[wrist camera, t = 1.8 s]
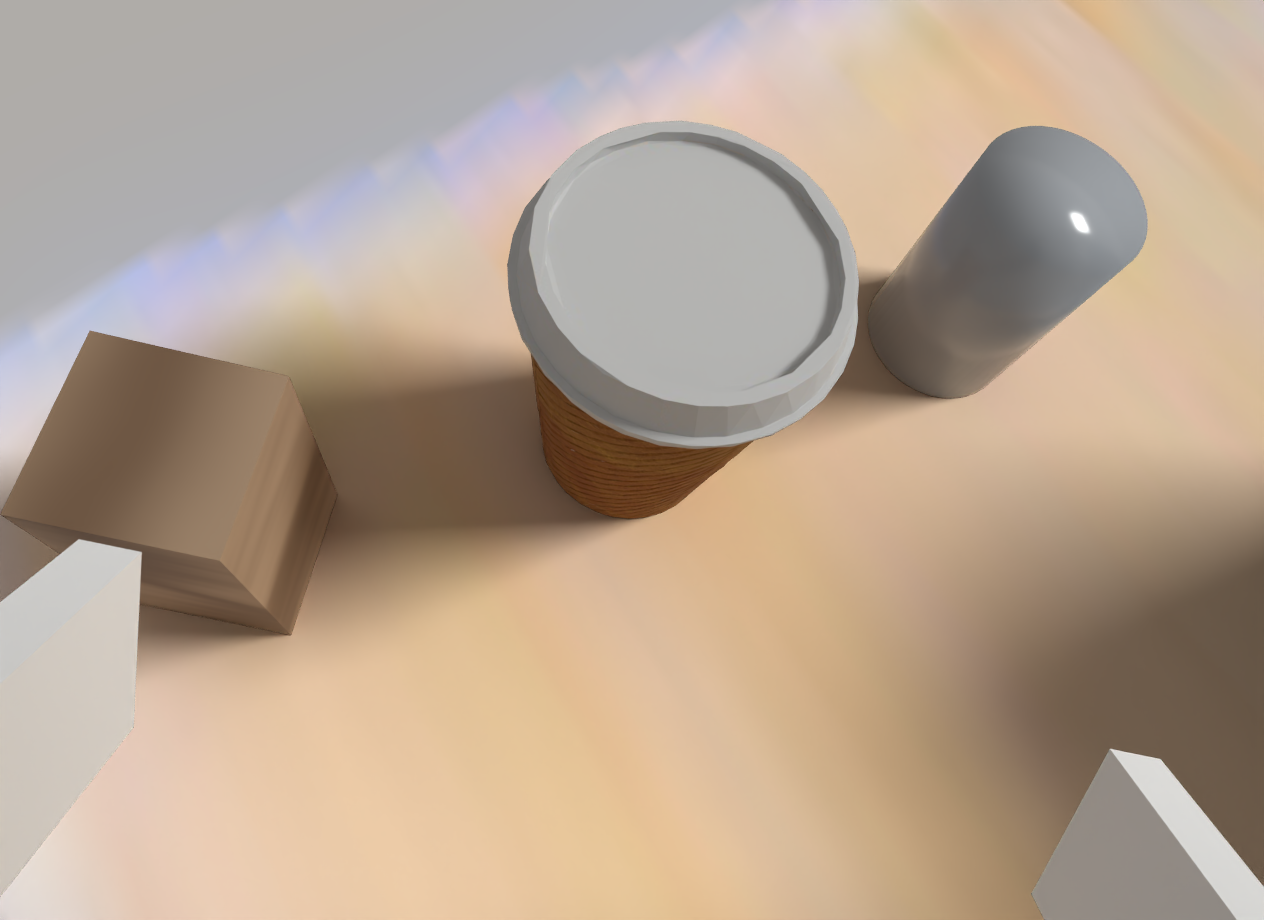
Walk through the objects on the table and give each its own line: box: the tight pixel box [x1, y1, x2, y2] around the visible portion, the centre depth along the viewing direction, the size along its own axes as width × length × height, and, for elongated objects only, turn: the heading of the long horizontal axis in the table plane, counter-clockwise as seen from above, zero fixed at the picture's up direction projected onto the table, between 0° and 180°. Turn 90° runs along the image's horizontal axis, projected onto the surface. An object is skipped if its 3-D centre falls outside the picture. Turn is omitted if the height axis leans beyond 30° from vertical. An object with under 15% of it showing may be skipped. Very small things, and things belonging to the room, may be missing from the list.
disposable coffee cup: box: [507, 121, 859, 519], centre depth 28 cm, size 10×10×12 cm
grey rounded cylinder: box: [868, 126, 1147, 398], centre depth 34 cm, size 6×6×9 cm
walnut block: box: [0, 331, 337, 635], centre depth 26 cm, size 5×5×9 cm
